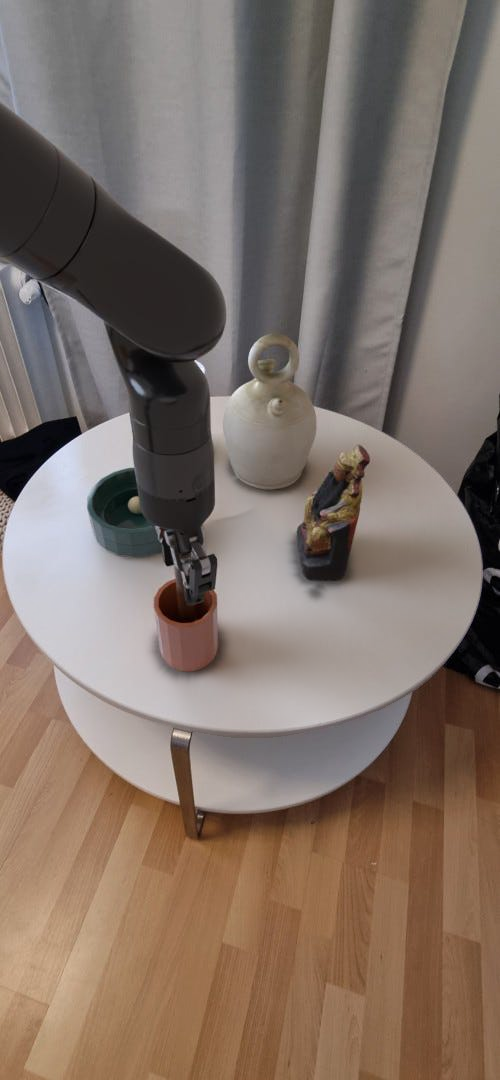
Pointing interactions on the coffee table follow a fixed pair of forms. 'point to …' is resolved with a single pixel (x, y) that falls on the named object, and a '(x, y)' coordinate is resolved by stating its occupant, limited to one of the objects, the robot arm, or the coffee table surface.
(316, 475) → the coffee table surface
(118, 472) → the bowl
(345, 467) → the statue
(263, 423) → the jug
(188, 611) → the stick
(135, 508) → the dough ball
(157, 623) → the crock
